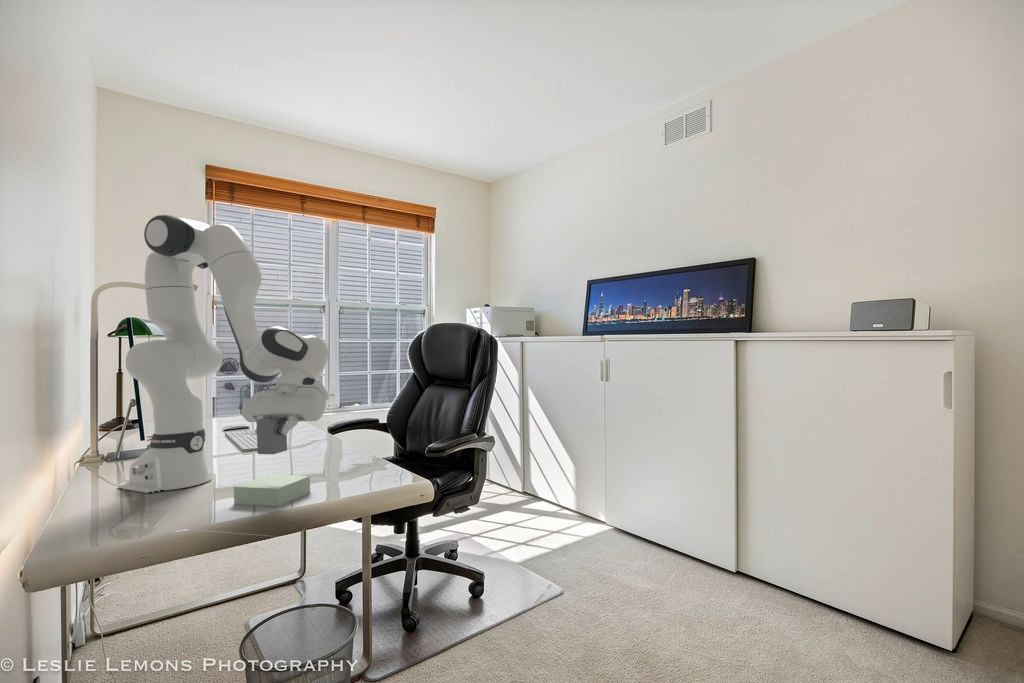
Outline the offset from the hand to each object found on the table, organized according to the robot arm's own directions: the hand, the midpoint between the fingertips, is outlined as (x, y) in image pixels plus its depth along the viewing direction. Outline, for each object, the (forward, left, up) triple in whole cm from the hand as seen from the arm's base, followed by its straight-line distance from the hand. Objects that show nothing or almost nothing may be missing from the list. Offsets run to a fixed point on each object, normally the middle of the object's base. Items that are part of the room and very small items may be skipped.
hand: (270, 434), depth 119 cm
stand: (0, +1, -15) cm, 15 cm away
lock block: (0, +1, -4) cm, 4 cm away
